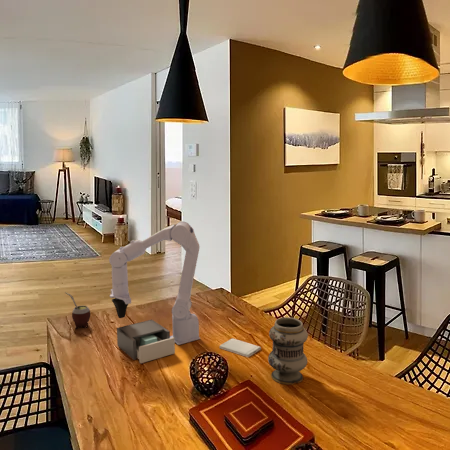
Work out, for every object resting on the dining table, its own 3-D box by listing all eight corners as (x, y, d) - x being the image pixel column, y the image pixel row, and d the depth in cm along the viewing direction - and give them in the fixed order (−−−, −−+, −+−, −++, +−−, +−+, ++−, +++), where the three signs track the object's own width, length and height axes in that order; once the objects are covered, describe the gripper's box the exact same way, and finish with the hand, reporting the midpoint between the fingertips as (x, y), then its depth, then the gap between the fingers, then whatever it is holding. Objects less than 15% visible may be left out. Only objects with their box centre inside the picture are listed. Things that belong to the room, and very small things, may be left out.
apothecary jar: (282, 390, 131) (283, 332, 128) (260, 372, 141) (261, 318, 138) (314, 380, 136) (316, 324, 133) (291, 364, 147) (292, 312, 144)
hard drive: (219, 345, 159) (248, 354, 152) (232, 337, 166) (261, 346, 158) (219, 349, 159) (248, 359, 152) (232, 342, 166) (261, 350, 158)
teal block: (151, 345, 159) (151, 333, 158) (157, 350, 156) (157, 338, 155) (140, 348, 157) (139, 336, 156) (145, 353, 153) (145, 341, 152)
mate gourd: (94, 325, 181) (92, 290, 178) (79, 332, 174) (76, 295, 172) (82, 321, 185) (80, 287, 182) (66, 328, 178) (64, 292, 176)
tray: (152, 337, 168) (152, 323, 167) (174, 353, 155) (174, 337, 154) (120, 345, 160) (119, 331, 160) (140, 363, 147) (139, 347, 146)
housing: (152, 336, 170) (151, 319, 168) (170, 349, 158) (169, 331, 157) (117, 345, 161) (116, 327, 160) (133, 359, 150) (132, 340, 149)
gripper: (102, 279, 168) (104, 313, 170) (117, 288, 156) (119, 325, 158) (120, 276, 172) (121, 310, 174) (136, 285, 160) (137, 321, 162)
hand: (121, 317), depth 166 cm, fingers closed
